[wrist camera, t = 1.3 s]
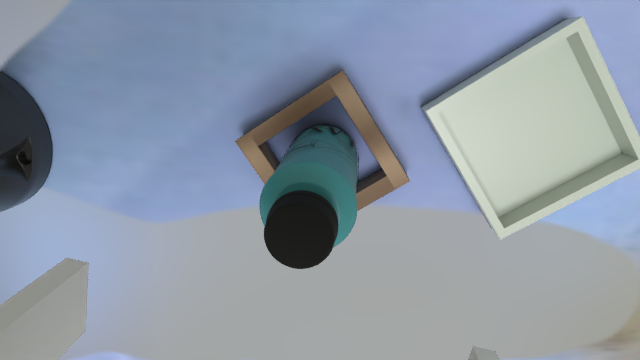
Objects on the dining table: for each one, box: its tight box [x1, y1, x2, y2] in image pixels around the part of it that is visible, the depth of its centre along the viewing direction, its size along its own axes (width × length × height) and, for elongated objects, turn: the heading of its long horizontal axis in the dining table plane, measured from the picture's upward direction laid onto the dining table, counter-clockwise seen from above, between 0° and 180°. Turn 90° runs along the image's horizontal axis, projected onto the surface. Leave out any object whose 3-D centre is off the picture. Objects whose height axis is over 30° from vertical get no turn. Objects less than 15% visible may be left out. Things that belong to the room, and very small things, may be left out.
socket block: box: [235, 70, 410, 211], centre depth 40 cm, size 12×12×3 cm
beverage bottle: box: [260, 124, 359, 269], centre depth 32 cm, size 6×7×20 cm
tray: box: [421, 17, 640, 239], centre depth 38 cm, size 14×14×3 cm
